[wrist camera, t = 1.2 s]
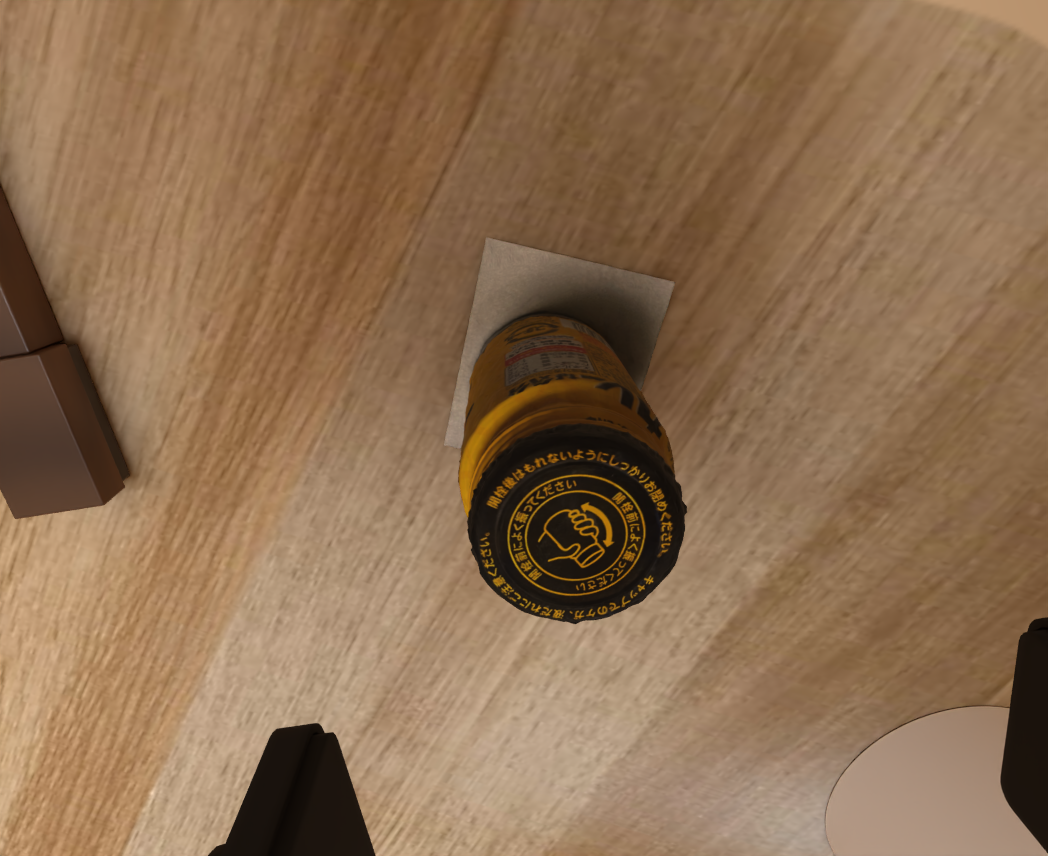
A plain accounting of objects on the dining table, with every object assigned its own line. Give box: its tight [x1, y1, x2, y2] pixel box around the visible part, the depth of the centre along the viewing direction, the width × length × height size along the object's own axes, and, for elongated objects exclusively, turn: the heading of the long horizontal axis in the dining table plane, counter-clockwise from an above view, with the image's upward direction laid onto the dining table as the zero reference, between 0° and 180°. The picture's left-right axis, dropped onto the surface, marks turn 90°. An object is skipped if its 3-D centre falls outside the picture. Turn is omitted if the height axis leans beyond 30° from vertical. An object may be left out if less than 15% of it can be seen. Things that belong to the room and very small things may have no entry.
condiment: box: [444, 238, 687, 624], centre depth 21 cm, size 7×8×12 cm
